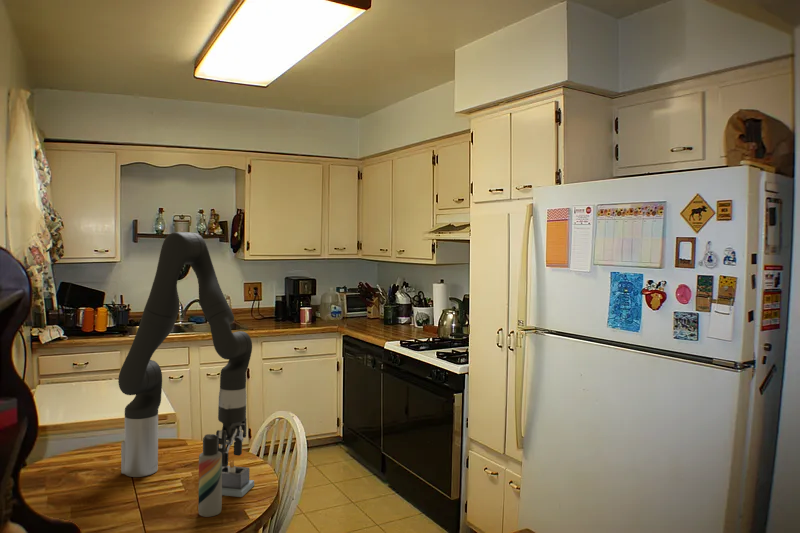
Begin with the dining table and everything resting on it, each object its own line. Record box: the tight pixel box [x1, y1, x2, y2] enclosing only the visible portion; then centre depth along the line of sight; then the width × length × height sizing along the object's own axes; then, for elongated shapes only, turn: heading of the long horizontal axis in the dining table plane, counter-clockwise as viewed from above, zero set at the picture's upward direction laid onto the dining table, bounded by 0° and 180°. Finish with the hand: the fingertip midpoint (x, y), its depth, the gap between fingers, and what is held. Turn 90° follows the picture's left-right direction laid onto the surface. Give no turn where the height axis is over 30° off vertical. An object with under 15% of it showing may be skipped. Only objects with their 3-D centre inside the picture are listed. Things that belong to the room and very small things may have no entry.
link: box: [222, 465, 250, 489], centre depth 166 cm, size 8×6×4 cm
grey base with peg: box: [222, 460, 255, 498], centre depth 166 cm, size 10×8×8 cm
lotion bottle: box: [197, 433, 223, 518], centre depth 152 cm, size 6×6×20 cm
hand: (230, 460), depth 166 cm, fingers open, 8 cm apart
